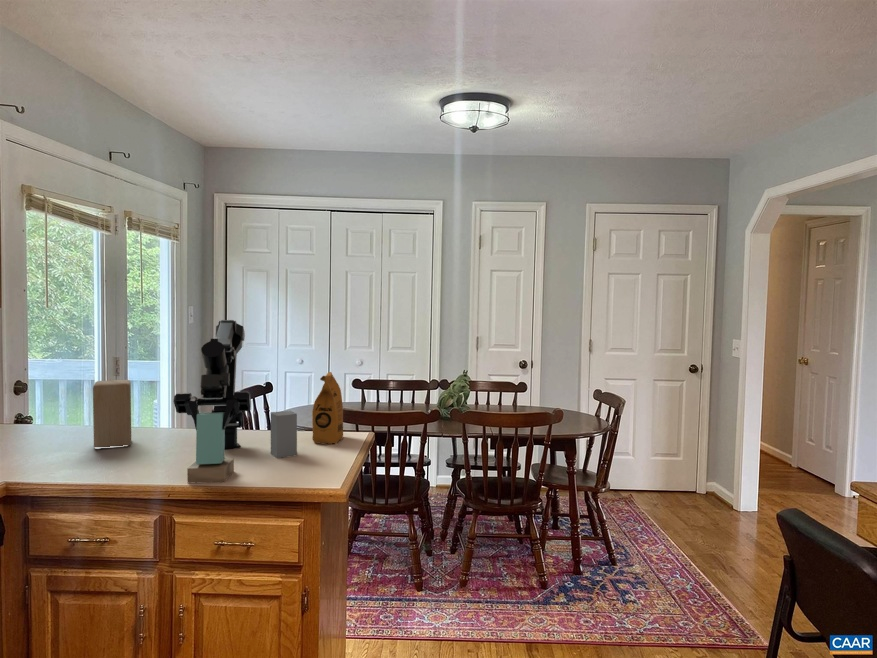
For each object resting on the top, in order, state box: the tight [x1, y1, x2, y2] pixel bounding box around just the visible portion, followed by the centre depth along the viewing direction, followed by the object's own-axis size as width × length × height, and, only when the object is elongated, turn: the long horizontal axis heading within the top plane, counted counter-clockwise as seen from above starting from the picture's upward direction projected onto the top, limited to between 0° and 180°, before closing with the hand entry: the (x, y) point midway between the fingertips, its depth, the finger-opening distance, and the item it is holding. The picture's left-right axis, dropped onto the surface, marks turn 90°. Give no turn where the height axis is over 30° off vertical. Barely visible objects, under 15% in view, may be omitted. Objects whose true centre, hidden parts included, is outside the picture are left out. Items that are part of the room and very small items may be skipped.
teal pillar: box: [195, 412, 226, 465], centre depth 149 cm, size 6×6×12 cm
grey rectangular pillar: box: [270, 410, 298, 459], centre depth 172 cm, size 6×6×12 cm
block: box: [92, 379, 132, 448], centre depth 180 cm, size 10×10×20 cm
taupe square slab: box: [186, 457, 235, 484], centre depth 149 cm, size 9×9×4 cm
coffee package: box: [311, 371, 344, 445], centre depth 189 cm, size 10×12×22 cm
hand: (210, 429), depth 147 cm, fingers closed on teal pillar, 6 cm apart
